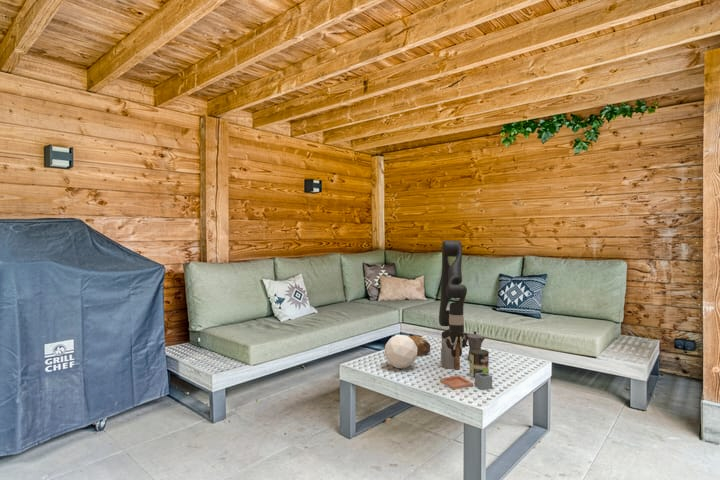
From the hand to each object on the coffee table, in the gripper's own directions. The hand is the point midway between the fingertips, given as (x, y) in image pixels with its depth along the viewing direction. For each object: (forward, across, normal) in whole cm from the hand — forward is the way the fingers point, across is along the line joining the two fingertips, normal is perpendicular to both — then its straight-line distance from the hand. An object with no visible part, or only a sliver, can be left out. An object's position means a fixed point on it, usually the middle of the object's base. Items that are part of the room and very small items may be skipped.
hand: (456, 356), depth 215 cm
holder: (+15, -10, +9) cm, 20 cm away
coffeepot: (+15, -35, -32) cm, 50 cm away
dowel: (+7, 0, 0) cm, 7 cm away
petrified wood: (+15, -11, -60) cm, 63 cm away
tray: (+15, 0, 0) cm, 15 cm away
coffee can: (+15, -19, -6) cm, 25 cm away
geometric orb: (+15, +13, -37) cm, 42 cm away
